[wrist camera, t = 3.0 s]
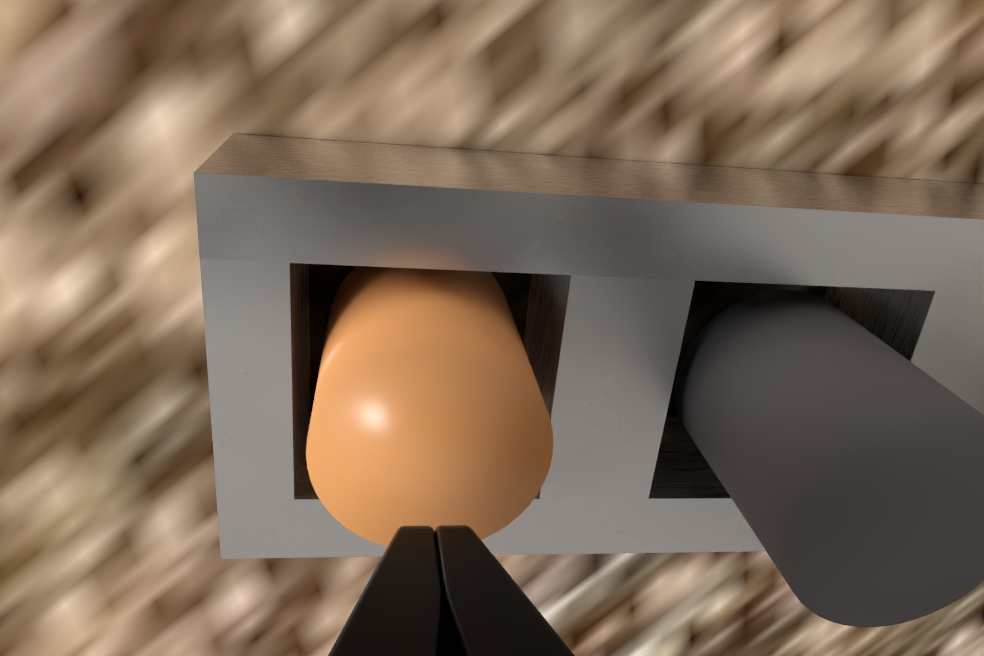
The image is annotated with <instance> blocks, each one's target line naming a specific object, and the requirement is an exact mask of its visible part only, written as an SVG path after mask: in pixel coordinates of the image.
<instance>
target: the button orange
mask: <svg viewBox="0 0 984 656" xmlns="http://www.w3.org/2000/svg"><path fill="white" fill-rule="evenodd" d="M552 456H553V430H552V425H551V421H550V417H549V414H548V411H547V408H546V405H545V403H544V400H543V397H542V395H541V392H540V389H539V386H538V384H537V381H536V378H535V376H534V373H533V370H532V367H531V365H530V362H529V359H528V357H527V354H526V351H525V348H524V346H523V343H522V340H521V338H520V335H519V332H518V329H517V327H516V324H515V321H514V319H513V316H512V313H511V310H510V308H509V305H508V302H507V300H506V297H505V295H504V292H503V290H502V288H501V286H500V285H499V283H498V281H497V280H496V279H495V277H494V276H493V275H492V274H491V272H488V271H465V270H441V269H418V268H395V267H372V266H356V267H355V268H354V269H353V270H352V271H351V272H350V273H349V274H348V275H347V277H346V278H345V279H344V280H343V282H342V283H341V285H340V286H339V288H338V290H337V292H336V294H335V296H334V299H333V301H332V304H331V308H330V313H329V318H328V324H327V329H326V335H325V340H324V346H323V352H322V357H321V363H320V369H319V374H318V380H317V386H316V391H315V397H314V402H313V408H312V414H311V419H310V425H309V431H308V436H307V445H306V460H307V469H308V473H309V477H310V480H311V483H312V485H313V488H314V490H315V492H316V494H317V496H318V497H319V499H320V501H321V502H322V504H323V505H324V507H325V508H326V509H327V510H328V511H329V512H330V514H331V515H332V516H333V517H334V518H335V519H336V520H338V521H339V522H340V523H341V524H342V525H343V526H345V527H346V528H348V529H349V530H350V531H352V532H353V533H355V534H357V535H359V536H361V537H363V538H364V539H366V540H369V541H371V542H374V543H377V544H379V545H382V546H386V547H388V545H389V543H390V542H391V540H392V538H393V536H394V534H395V532H396V531H397V529H398V528H399V527H401V526H426V525H428V526H431V527H432V528H433V530H434V531H435V529H436V527H438V526H440V525H466V526H469V527H470V528H472V530H473V531H474V532H475V533H476V534H477V536H478V537H479V538H480V539H481V540H482V539H485V538H487V537H488V536H490V535H492V534H494V533H496V532H498V531H499V530H501V529H502V528H504V527H505V526H507V525H508V524H510V523H511V522H512V521H513V520H515V519H516V518H517V517H518V516H519V515H521V513H522V512H523V511H524V510H525V509H526V508H527V507H528V506H529V505H530V504H531V502H532V501H533V500H534V498H535V497H536V496H537V494H538V493H539V491H540V489H541V487H542V485H543V484H544V482H545V479H546V477H547V474H548V471H549V469H550V465H551V460H552Z"/></svg>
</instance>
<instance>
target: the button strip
mask: <svg viewBox="0 0 984 656" xmlns="http://www.w3.org/2000/svg"><path fill="white" fill-rule="evenodd" d="M194 182H195V196H196V210H197V225H198V239H199V253H200V267H201V281H202V295H203V310H204V324H205V338H206V352H207V366H208V380H209V395H210V409H211V423H212V437H213V451H214V465H215V480H216V494H217V508H218V522H219V536H220V550H221V559H232V558H305V557H377V556H383V554H384V553H385V551H386V549H387V547H386V546H382V545H379V544H377V543H374V542H371V541H369V540H366V539H364V538H363V537H361V536H359V535H357V534H355V533H353V532H352V531H350V530H349V529H348V528H346V527H345V526H343V525H342V524H341V523H340V522H339V521H338V520H336V519H335V518H334V517H333V516H332V515H331V514H330V512H329V511H328V510H327V509H326V508H325V507H324V505H323V504H322V502H321V501H320V499H319V497H318V496H317V494H316V492H315V490H314V488H313V485H312V483H311V480H310V477H309V473H308V469H307V460H306V445H307V436H308V431H309V425H310V419H311V414H312V411H310V339H309V264H326V265H349V266H372V267H395V268H418V269H441V270H465V271H488V272H511V273H532V275H531V284H530V292H529V300H528V309H527V317H526V326H525V334H524V342H523V346H524V348H525V351H526V354H527V357H528V359H529V362H530V365H531V367H532V370H533V373H534V376H535V378H536V381H537V384H538V386H539V389H540V392H541V395H542V397H543V400H544V403H545V405H546V408H547V411H548V414H549V417H550V421H551V425H552V430H553V456H552V460H551V465H550V469H549V471H548V474H547V477H546V479H545V482H544V484H543V485H542V487H541V489H540V491H539V493H538V494H537V496H536V497H535V498H534V500H533V501H532V502H531V504H530V505H529V506H528V507H527V508H526V509H525V510H524V511H523V512H522V513H521V515H519V516H518V517H517V518H516V519H515V520H513V521H512V522H511V523H510V524H508V525H507V526H505V527H504V528H502V529H501V530H499V531H498V532H496V533H494V534H492V535H490V536H488V537H487V538H485V539H482V540H481V541H482V542H483V543H484V544H485V546H486V547H487V548H488V549H489V551H490V552H491V553H492V554H493V555H522V554H595V553H667V552H740V551H766V550H765V548H764V547H763V545H762V544H761V542H760V541H759V539H758V538H757V536H756V535H755V533H754V532H753V530H752V529H751V527H750V526H749V524H748V523H747V521H746V520H745V518H744V517H743V515H742V514H741V512H740V511H739V509H738V508H737V506H736V505H735V503H734V502H733V500H732V498H731V497H730V495H729V494H728V492H727V491H726V489H725V488H724V486H723V485H722V483H721V482H720V480H719V479H718V477H717V476H716V474H715V473H714V471H713V470H712V468H711V467H710V465H709V464H708V462H707V461H706V459H705V458H704V456H703V455H702V453H701V452H700V450H699V449H698V447H697V446H696V444H695V443H694V441H693V439H692V438H691V436H690V435H689V433H688V432H687V430H686V429H685V427H684V426H683V424H682V422H681V420H680V418H679V417H666V415H667V410H668V405H669V401H670V396H671V391H672V387H673V382H674V377H675V373H676V368H677V363H678V359H679V354H680V349H681V345H682V340H683V335H684V331H685V326H686V321H687V317H688V312H689V307H690V303H691V298H692V293H693V289H694V284H695V280H696V281H719V282H743V283H766V284H789V285H812V286H828V287H827V291H826V294H825V298H824V300H826V301H828V302H829V303H831V304H832V305H834V306H835V307H836V308H838V309H839V310H841V311H842V312H843V313H845V314H846V315H847V316H849V317H850V318H851V319H853V320H854V321H856V322H857V323H858V324H860V325H861V326H862V327H864V328H865V329H867V330H868V331H869V332H871V333H872V334H873V335H875V336H876V337H877V338H879V339H880V340H882V341H883V342H884V343H886V344H887V345H888V346H890V347H891V348H892V349H894V350H895V351H897V352H898V353H899V354H901V355H902V356H903V357H905V358H906V359H907V360H909V361H910V362H912V363H913V364H914V365H916V366H917V367H918V368H920V369H921V370H922V371H924V372H925V373H927V374H928V375H929V376H931V377H932V378H933V379H935V380H936V381H938V382H939V383H940V384H942V385H943V386H944V387H946V388H947V389H948V390H950V391H951V392H953V393H954V394H955V395H957V396H958V397H959V398H961V399H962V400H963V401H965V402H966V403H968V404H969V405H970V406H972V407H973V408H974V409H976V410H977V411H978V412H980V413H981V414H983V415H984V184H971V183H956V182H941V181H926V180H911V179H897V178H882V177H867V176H852V175H837V174H822V173H808V172H793V171H778V170H763V169H748V168H733V167H719V166H704V165H689V164H674V163H659V162H644V161H629V160H615V159H600V158H585V157H570V156H555V155H540V154H526V153H511V152H496V151H481V150H466V149H451V148H437V147H422V146H407V145H392V144H377V143H362V142H348V141H333V140H318V139H303V138H288V137H273V136H259V135H244V134H232V135H231V136H230V137H229V138H228V139H227V140H226V141H225V142H224V143H223V144H222V145H221V146H220V147H219V148H218V149H217V150H216V151H215V152H214V153H213V154H212V155H211V156H210V157H209V158H208V159H207V160H206V161H205V162H204V163H203V164H202V165H201V166H200V167H199V168H198V169H197V170H196V171H195V172H194Z"/></svg>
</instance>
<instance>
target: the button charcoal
mask: <svg viewBox="0 0 984 656" xmlns="http://www.w3.org/2000/svg"><path fill="white" fill-rule="evenodd" d="M675 403H676V409H677V412H678V415H679V418H680V420H681V422H682V424H683V426H684V427H685V429H686V430H687V432H688V433H689V435H690V436H691V438H692V439H693V441H694V443H695V444H696V446H697V447H698V449H699V450H700V452H701V453H702V455H703V456H704V458H705V459H706V461H707V462H708V464H709V465H710V467H711V468H712V470H713V471H714V473H715V474H716V476H717V477H718V479H719V480H720V482H721V483H722V485H723V486H724V488H725V489H726V491H727V492H728V494H729V495H730V497H731V498H732V500H733V502H734V503H735V505H736V506H737V508H738V509H739V511H740V512H741V514H742V515H743V517H744V518H745V520H746V521H747V523H748V524H749V526H750V527H751V529H752V530H753V532H754V533H755V535H756V536H757V538H758V539H759V541H760V542H761V544H762V545H763V547H764V548H765V550H766V551H767V553H768V554H769V556H770V557H771V559H772V561H773V562H774V564H775V565H776V567H777V568H778V570H779V571H780V573H781V574H782V576H783V577H784V579H785V580H786V582H787V583H788V585H789V586H790V588H791V589H792V591H793V592H794V594H795V595H796V596H797V598H798V599H799V600H800V602H801V603H802V604H803V605H805V606H806V607H807V608H808V609H809V610H810V611H812V612H813V613H815V614H817V615H818V616H820V617H822V618H824V619H827V620H829V621H831V622H835V623H839V624H842V625H848V626H855V627H879V626H888V625H894V624H899V623H904V622H907V621H911V620H914V619H918V618H920V617H923V616H926V615H928V614H931V613H933V612H935V611H937V610H939V609H942V608H944V607H946V606H948V605H949V604H951V603H953V602H955V601H956V600H958V599H960V598H961V597H963V596H964V595H966V594H967V593H969V592H970V591H971V590H973V589H974V588H976V587H977V586H978V585H979V584H980V583H982V582H983V581H984V415H983V414H981V413H980V412H978V411H977V410H976V409H974V408H973V407H972V406H970V405H969V404H968V403H966V402H965V401H963V400H962V399H961V398H959V397H958V396H957V395H955V394H954V393H953V392H951V391H950V390H948V389H947V388H946V387H944V386H943V385H942V384H940V383H939V382H938V381H936V380H935V379H933V378H932V377H931V376H929V375H928V374H927V373H925V372H924V371H922V370H921V369H920V368H918V367H917V366H916V365H914V364H913V363H912V362H910V361H909V360H907V359H906V358H905V357H903V356H902V355H901V354H899V353H898V352H897V351H895V350H894V349H892V348H891V347H890V346H888V345H887V344H886V343H884V342H883V341H882V340H880V339H879V338H877V337H876V336H875V335H873V334H872V333H871V332H869V331H868V330H867V329H865V328H864V327H862V326H861V325H860V324H858V323H857V322H856V321H854V320H853V319H851V318H850V317H849V316H847V315H846V314H845V313H843V312H842V311H841V310H839V309H838V308H836V307H835V306H834V305H832V304H831V303H829V302H828V301H826V300H824V299H823V298H820V297H818V296H816V295H813V294H810V293H806V292H802V291H793V290H778V291H771V292H765V293H761V294H757V295H754V296H751V297H748V298H746V299H743V300H741V301H739V302H737V303H735V304H733V305H731V306H729V307H728V308H726V309H725V310H723V311H722V312H720V313H719V314H717V315H716V316H715V317H714V318H713V319H711V320H710V321H709V322H708V323H707V324H706V325H705V326H704V327H703V328H702V329H701V330H700V331H699V332H698V334H697V335H696V336H695V338H694V339H693V340H692V342H691V343H690V345H689V346H688V348H687V350H686V352H685V353H684V355H683V358H682V360H681V362H680V365H679V368H678V372H677V375H676V381H675Z"/></svg>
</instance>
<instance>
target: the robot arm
mask: <svg viewBox="0 0 984 656" xmlns="http://www.w3.org/2000/svg"><path fill="white" fill-rule="evenodd" d="M328 656H575V655H574V654H573V653H572V652H571V650H570V649H569V648H568V647H567V646H566V644H565V643H564V642H563V641H562V639H561V638H560V637H559V636H558V634H557V633H556V632H555V631H554V629H553V628H552V627H551V626H550V625H549V623H548V622H547V621H546V620H545V618H544V617H543V616H542V615H541V613H540V612H539V611H538V610H537V609H536V607H535V606H534V605H533V604H532V602H531V601H530V600H529V599H528V597H527V596H526V595H525V594H524V592H523V591H522V590H521V589H520V588H519V586H518V585H517V584H516V583H515V581H514V580H513V579H512V578H511V576H510V575H509V574H508V573H507V571H506V570H505V569H504V568H503V567H502V565H501V564H500V563H499V562H498V560H497V559H496V558H495V557H494V555H493V554H492V553H491V552H490V551H489V549H488V548H487V547H486V546H485V544H484V543H483V542H482V541H481V539H480V538H479V537H478V536H477V534H476V533H475V532H474V531H473V530H472V528H470V527H469V526H466V525H440V526H438V527H436V529H435V531H434V530H433V528H432V527H431V526H428V525H426V526H401V527H399V528H398V529H397V531H396V532H395V534H394V536H393V538H392V540H391V542H390V543H389V545H388V547H387V549H386V551H385V553H384V554H383V556H382V558H381V560H380V562H379V563H378V565H377V567H376V569H375V571H374V573H373V574H372V576H371V578H370V580H369V582H368V584H367V585H366V587H365V589H364V591H363V593H362V595H361V596H360V598H359V600H358V602H357V604H356V606H355V607H354V609H353V611H352V613H351V615H350V617H349V618H348V620H347V622H346V624H345V626H344V628H343V629H342V631H341V633H340V635H339V637H338V639H337V640H336V642H335V644H334V646H333V648H332V650H331V651H330V653H329V655H328Z"/></svg>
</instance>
